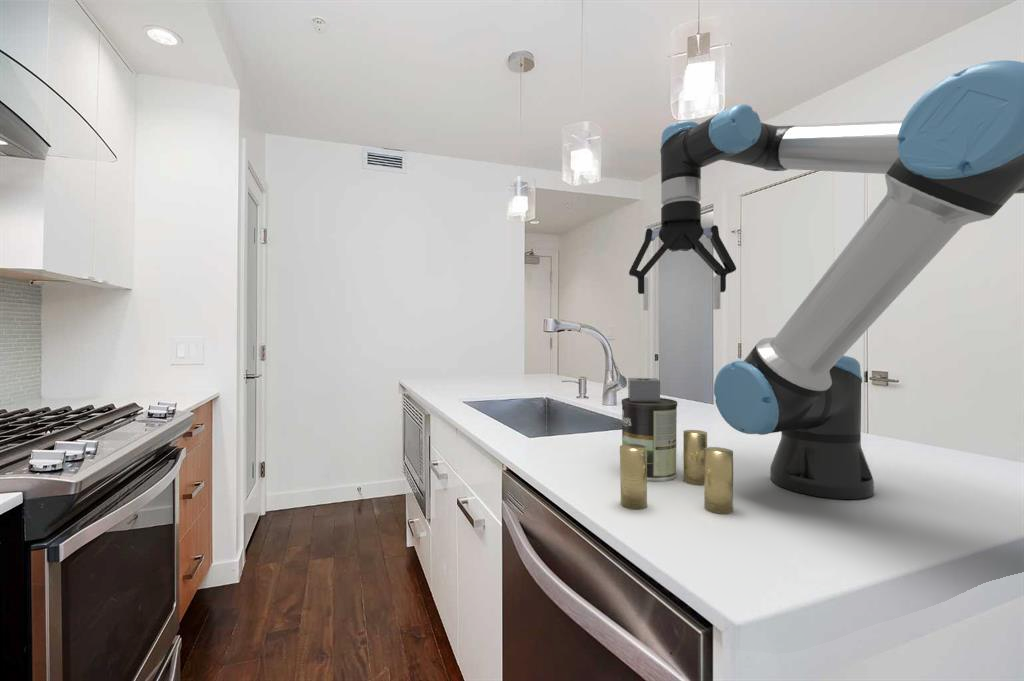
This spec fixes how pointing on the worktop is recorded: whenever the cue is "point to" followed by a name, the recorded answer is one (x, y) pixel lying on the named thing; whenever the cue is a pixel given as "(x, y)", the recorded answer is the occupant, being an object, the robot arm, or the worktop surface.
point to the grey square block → (643, 390)
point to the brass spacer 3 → (718, 480)
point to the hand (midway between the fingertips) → (680, 309)
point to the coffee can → (653, 434)
